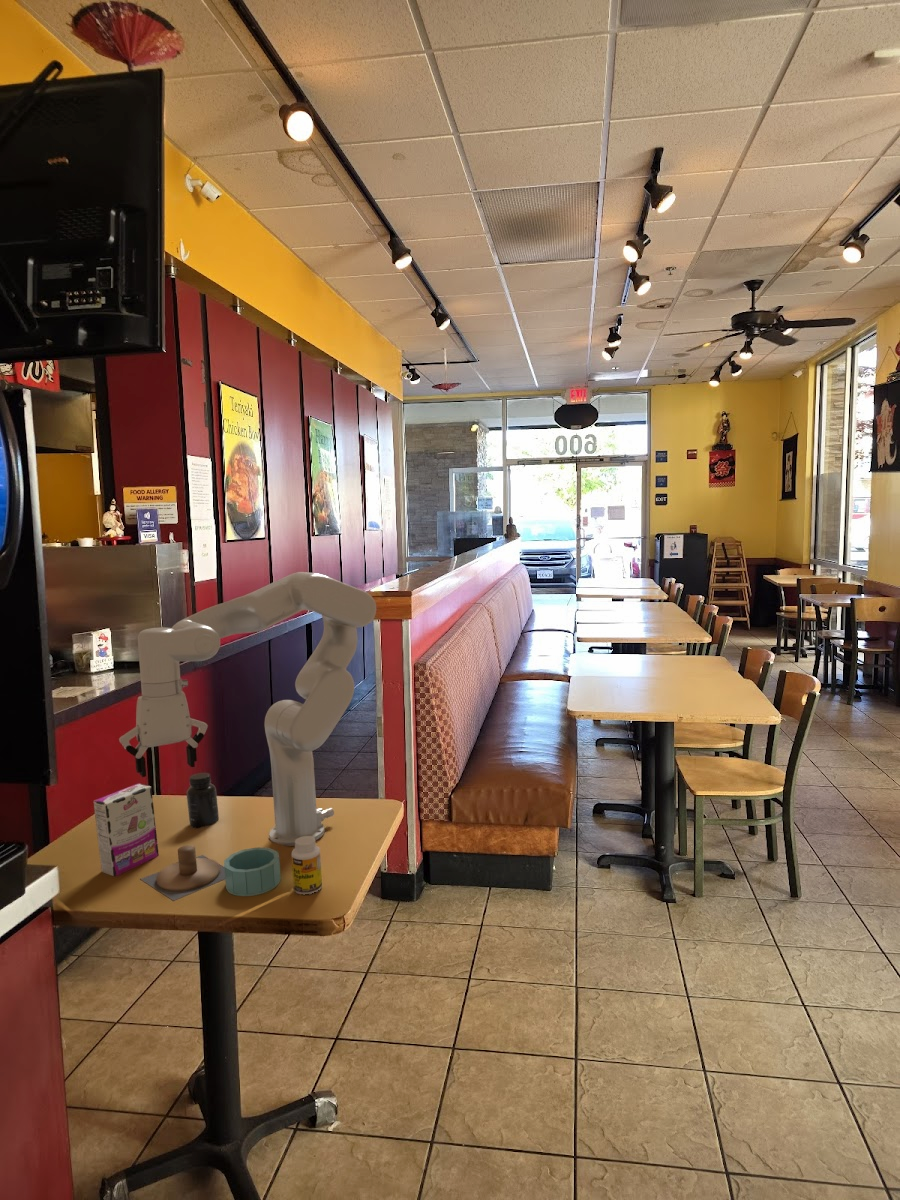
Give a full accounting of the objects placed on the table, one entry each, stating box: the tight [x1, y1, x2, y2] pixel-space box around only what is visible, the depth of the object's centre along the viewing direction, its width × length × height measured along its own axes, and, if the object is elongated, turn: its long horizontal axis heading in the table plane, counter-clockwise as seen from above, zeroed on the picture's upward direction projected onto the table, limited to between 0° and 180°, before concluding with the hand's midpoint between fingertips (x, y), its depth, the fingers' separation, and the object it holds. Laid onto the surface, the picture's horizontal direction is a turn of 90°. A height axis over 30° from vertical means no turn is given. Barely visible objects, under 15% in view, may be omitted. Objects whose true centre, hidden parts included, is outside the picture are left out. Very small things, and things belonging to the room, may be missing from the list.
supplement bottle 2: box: [291, 836, 323, 896], centre depth 153 cm, size 6×6×10 cm
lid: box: [156, 844, 221, 891], centre depth 160 cm, size 12×12×6 cm
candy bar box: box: [92, 783, 160, 877], centre depth 166 cm, size 11×5×16 cm, turn 148°
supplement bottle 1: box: [186, 772, 220, 829], centre depth 188 cm, size 7×7×12 cm
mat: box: [140, 854, 225, 902], centre depth 160 cm, size 14×14×1 cm
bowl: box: [223, 847, 282, 897], centre depth 156 cm, size 11×11×6 cm
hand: (167, 770), depth 160 cm, fingers open, 9 cm apart
